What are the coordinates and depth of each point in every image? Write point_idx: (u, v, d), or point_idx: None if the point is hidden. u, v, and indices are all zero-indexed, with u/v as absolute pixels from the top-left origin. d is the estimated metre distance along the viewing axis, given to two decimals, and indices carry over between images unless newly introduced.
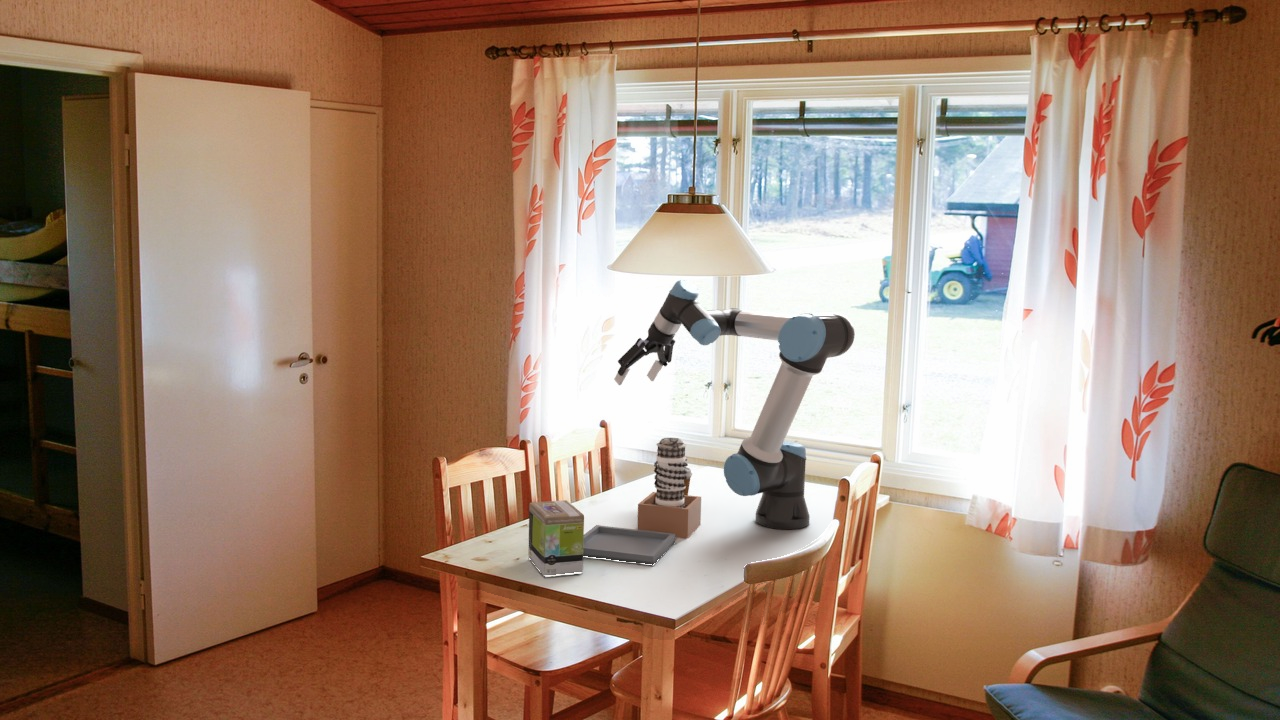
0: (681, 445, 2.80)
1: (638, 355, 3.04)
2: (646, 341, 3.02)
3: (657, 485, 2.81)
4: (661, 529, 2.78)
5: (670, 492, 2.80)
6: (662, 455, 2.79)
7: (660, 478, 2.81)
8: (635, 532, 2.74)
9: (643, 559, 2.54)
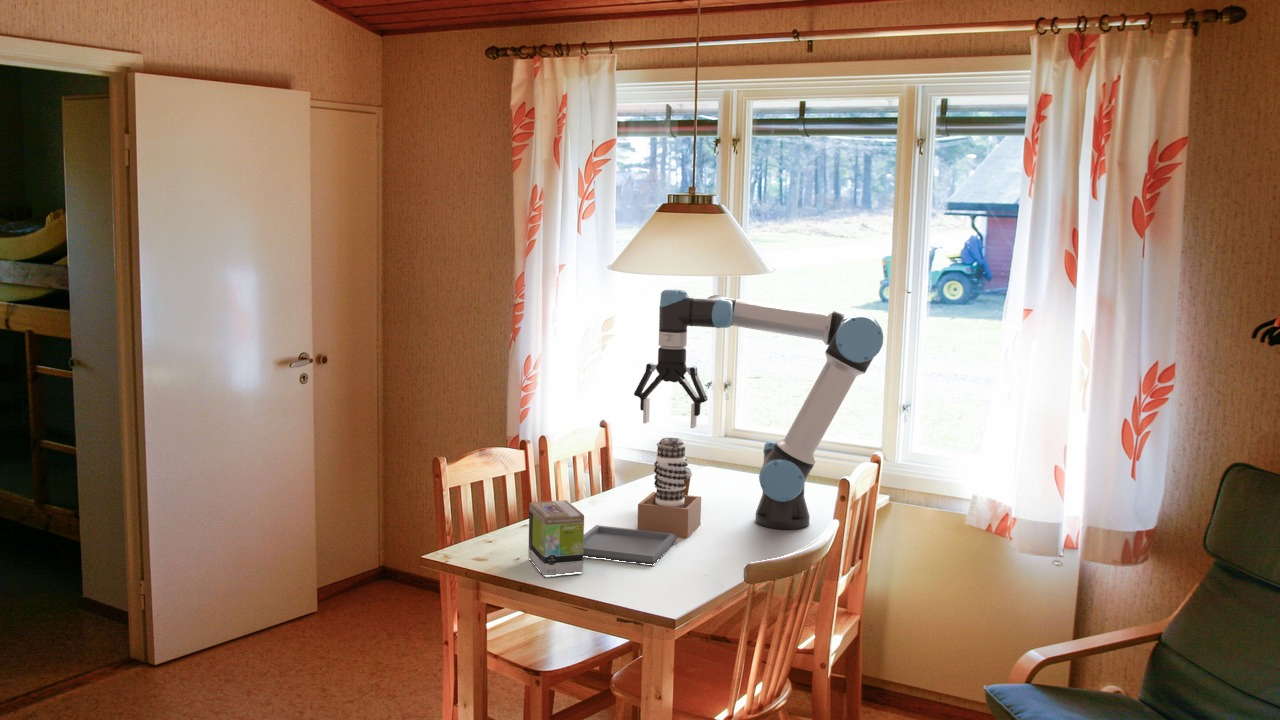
0: (681, 445, 2.80)
1: (689, 385, 2.80)
2: (687, 367, 2.79)
3: (657, 485, 2.81)
4: (661, 529, 2.78)
5: (670, 492, 2.80)
6: (662, 455, 2.79)
7: (660, 478, 2.81)
8: (635, 532, 2.74)
9: (643, 559, 2.54)
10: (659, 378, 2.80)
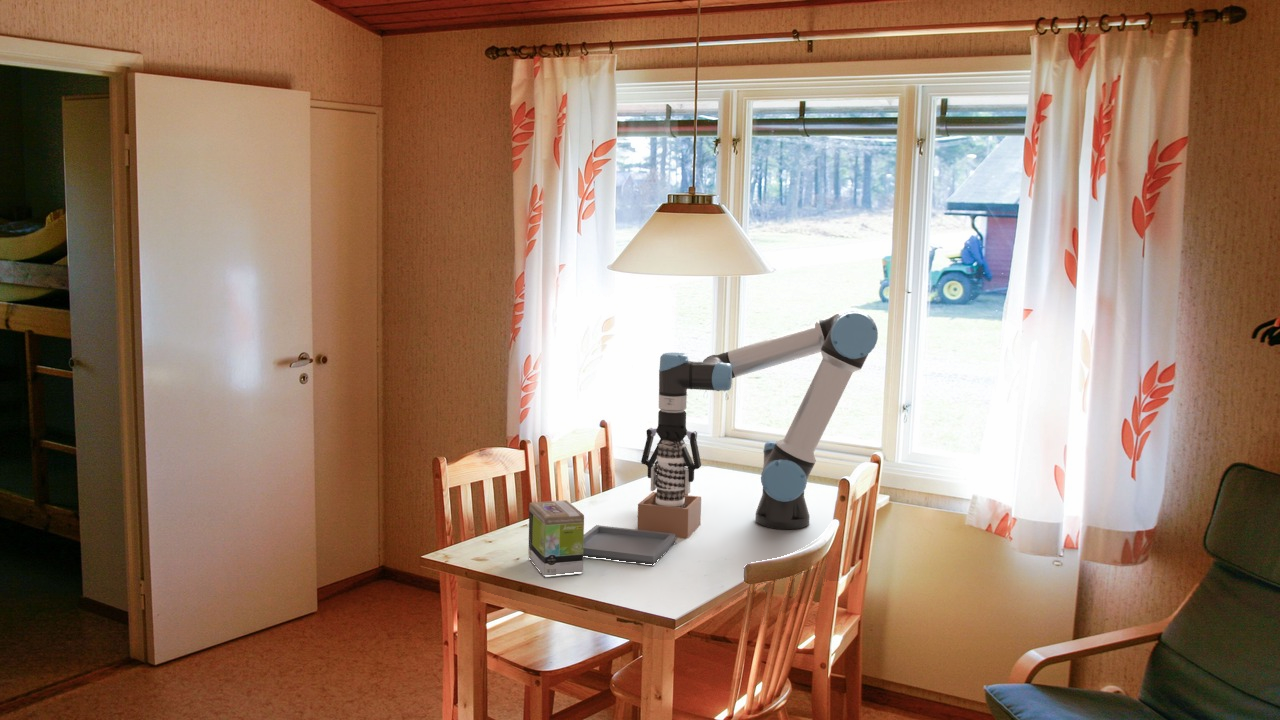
0: None
1: (686, 450, 2.81)
2: (687, 431, 2.80)
3: (657, 485, 2.81)
4: (661, 529, 2.78)
5: (670, 492, 2.80)
6: (662, 455, 2.79)
7: (660, 478, 2.81)
8: (635, 532, 2.74)
9: (643, 559, 2.54)
10: None
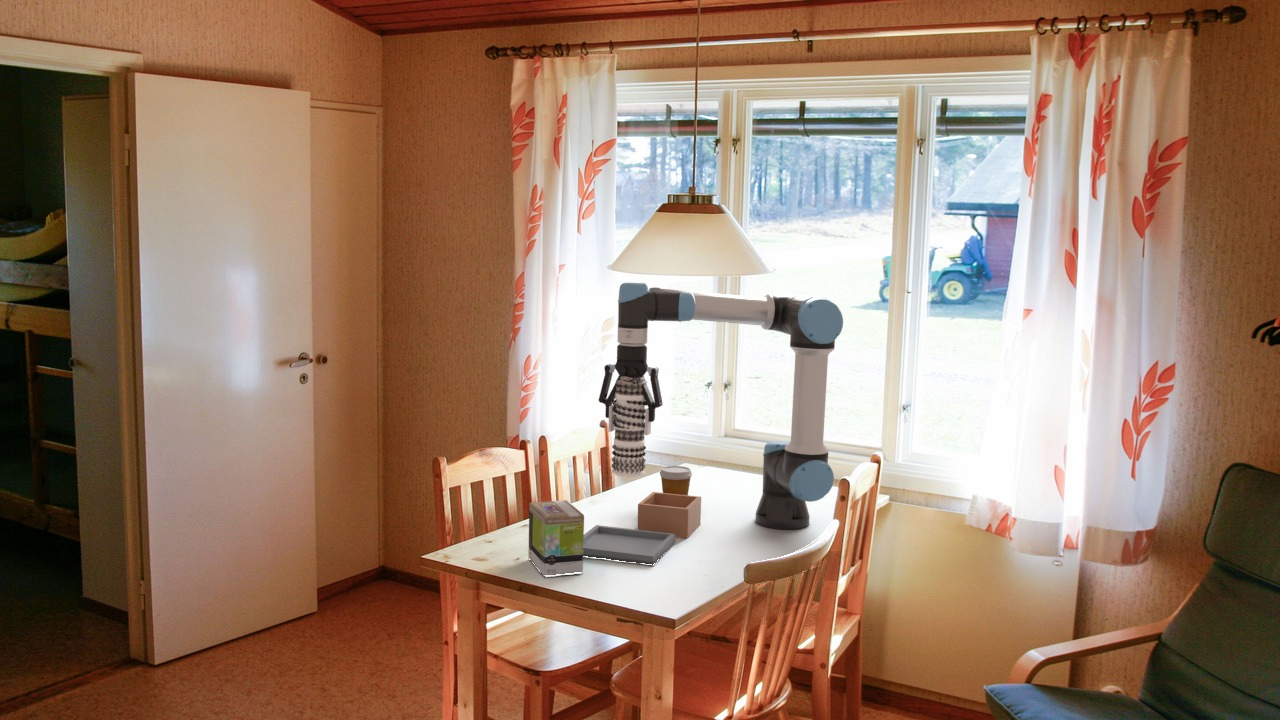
0: None
1: (647, 388, 2.62)
2: (648, 367, 2.61)
3: (615, 424, 2.62)
4: (661, 529, 2.78)
5: (629, 432, 2.60)
6: (621, 392, 2.60)
7: (618, 417, 2.61)
8: (635, 532, 2.74)
9: (643, 559, 2.54)
10: None
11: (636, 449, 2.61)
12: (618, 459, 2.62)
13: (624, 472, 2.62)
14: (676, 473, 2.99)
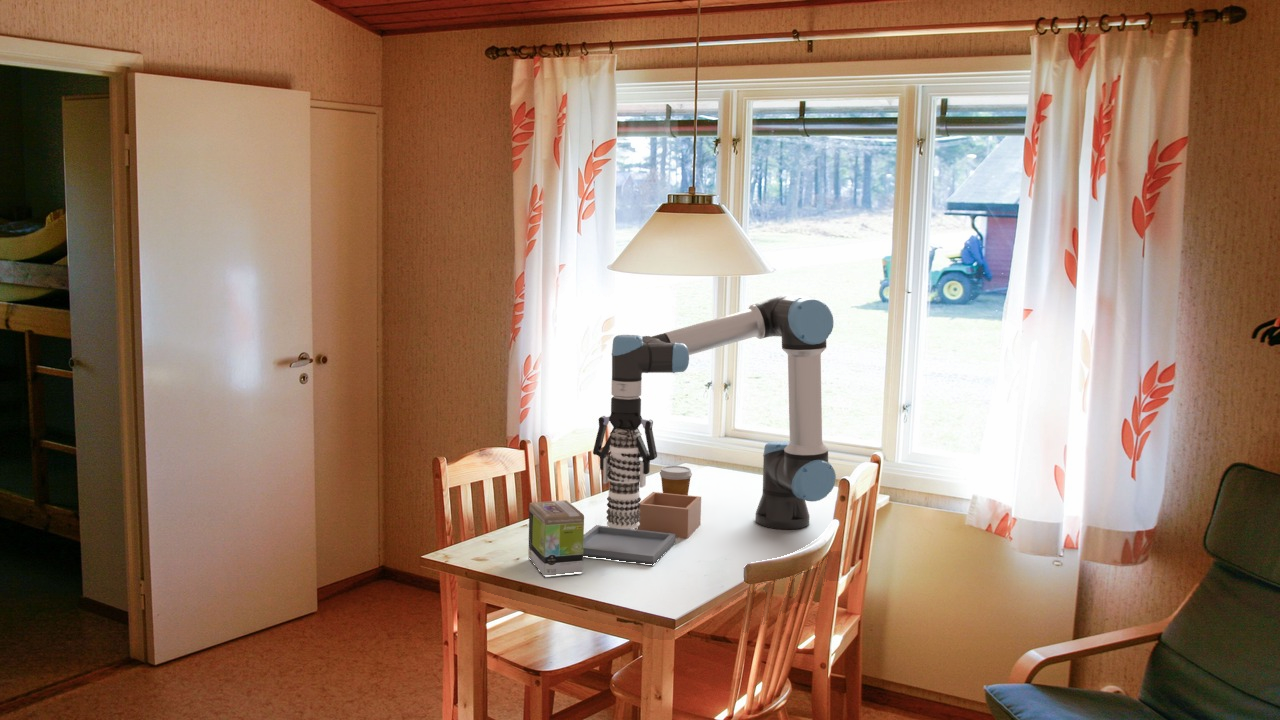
0: None
1: (641, 440, 2.61)
2: (642, 419, 2.60)
3: (610, 477, 2.61)
4: (661, 529, 2.78)
5: (624, 484, 2.60)
6: (615, 445, 2.60)
7: (613, 469, 2.61)
8: (635, 532, 2.74)
9: (643, 559, 2.54)
10: None
11: (631, 501, 2.61)
12: (613, 511, 2.62)
13: (619, 525, 2.61)
14: (676, 473, 2.99)
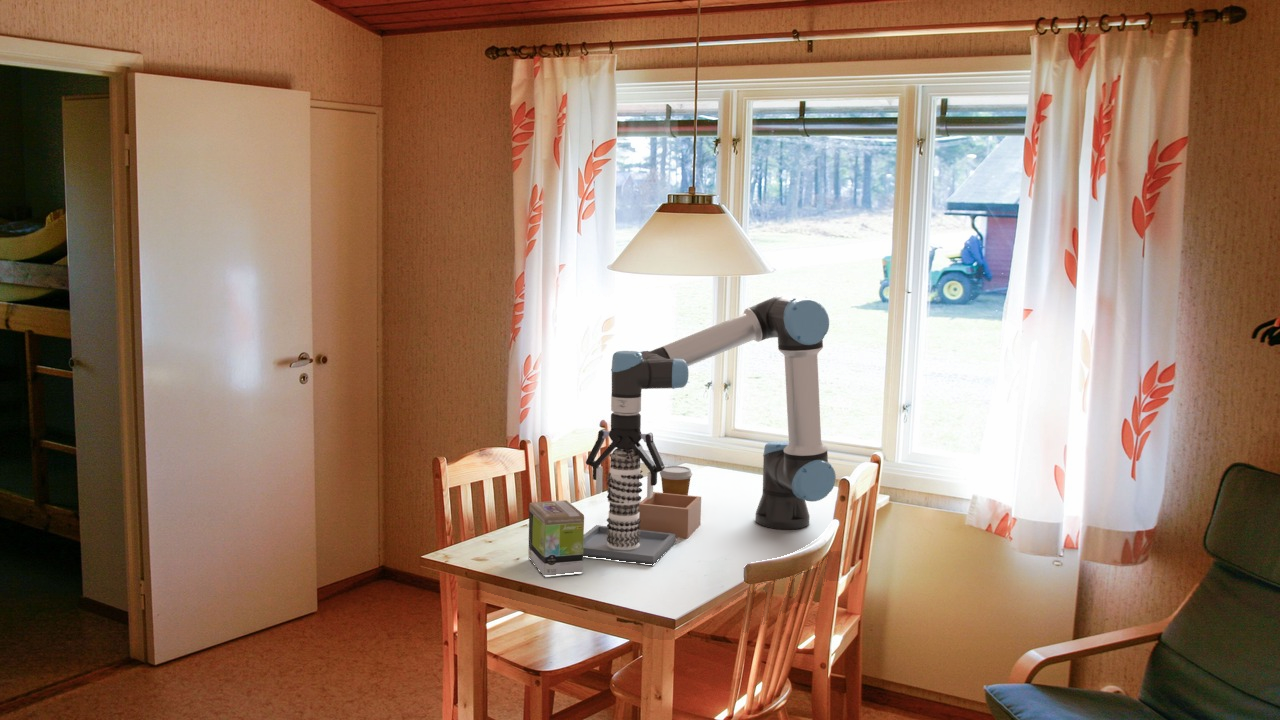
0: (635, 456, 2.61)
1: (645, 453, 2.62)
2: (642, 434, 2.61)
3: (610, 499, 2.62)
4: (661, 529, 2.78)
5: (624, 506, 2.61)
6: (615, 466, 2.60)
7: (613, 491, 2.62)
8: None
9: (643, 559, 2.54)
10: (612, 446, 2.61)
11: (631, 523, 2.61)
12: (613, 533, 2.62)
13: (619, 546, 2.62)
14: (676, 473, 2.99)
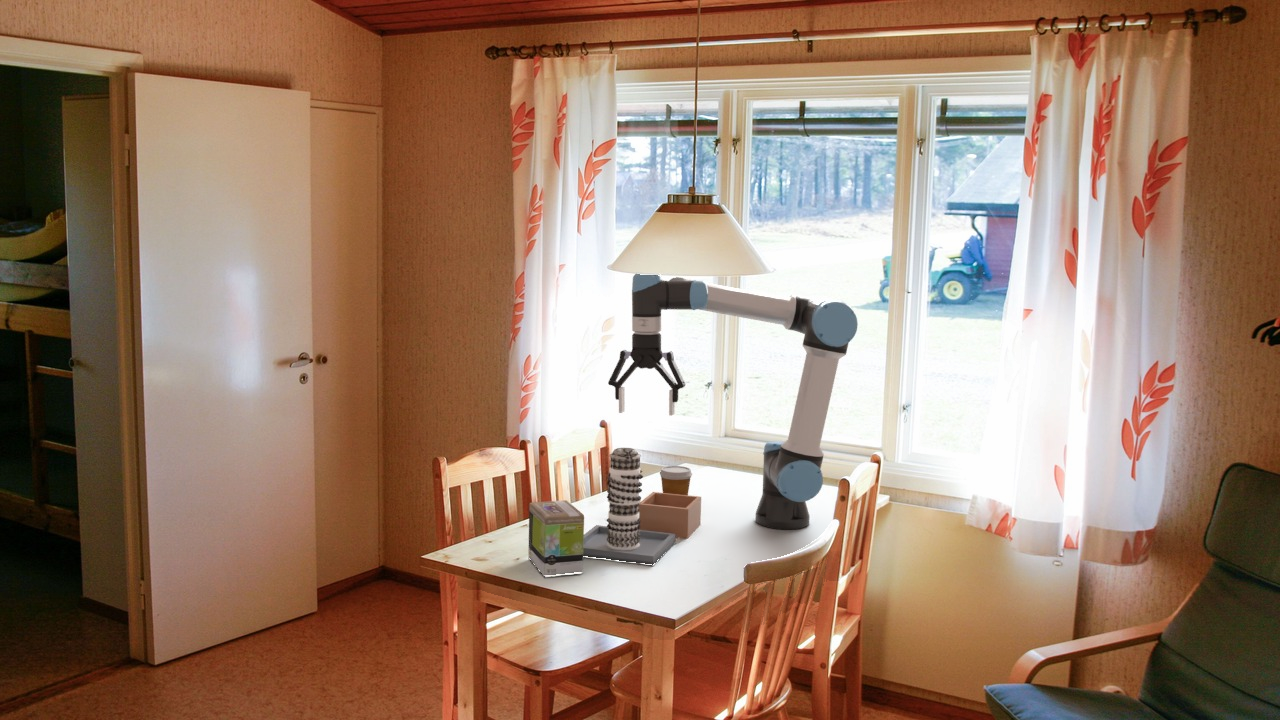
0: (635, 456, 2.61)
1: (666, 371, 2.70)
2: (663, 353, 2.69)
3: (610, 499, 2.62)
4: (661, 529, 2.78)
5: (623, 506, 2.61)
6: (615, 467, 2.60)
7: (613, 491, 2.62)
8: None
9: (643, 559, 2.54)
10: (634, 365, 2.70)
11: (631, 523, 2.61)
12: (613, 533, 2.62)
13: (619, 546, 2.62)
14: (676, 473, 2.99)
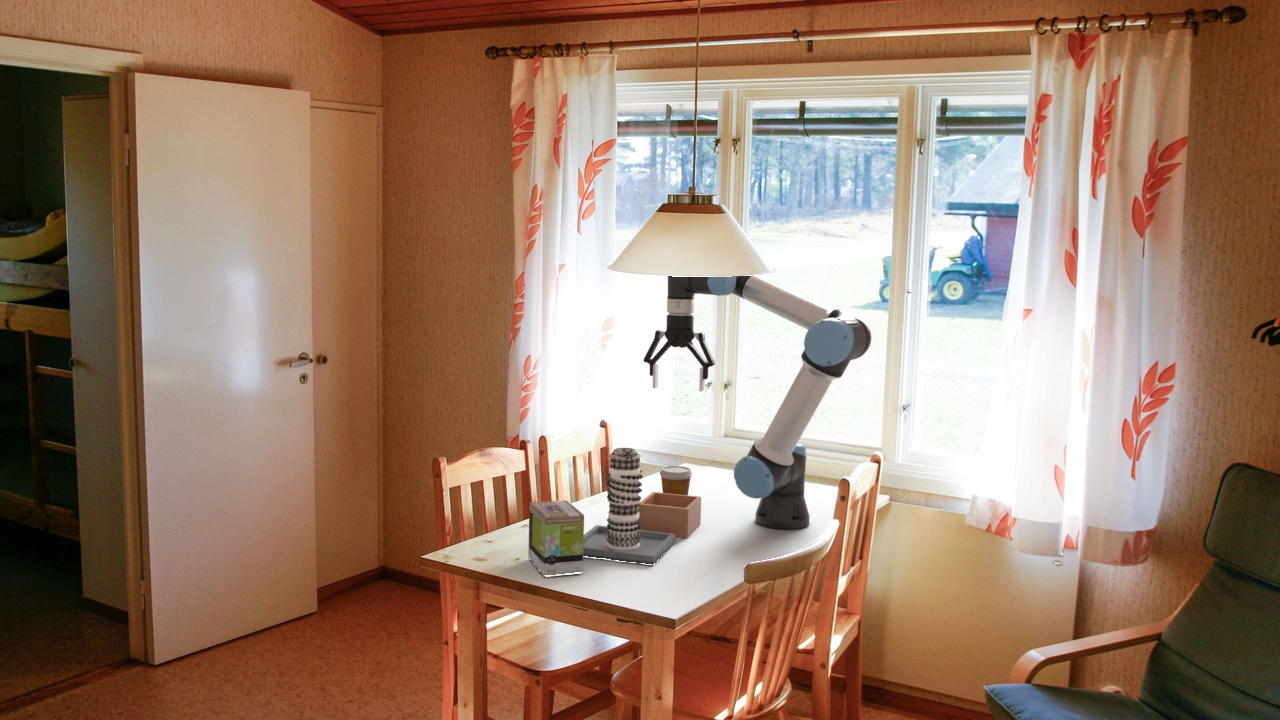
0: (635, 456, 2.61)
1: (697, 350, 2.91)
2: (695, 333, 2.90)
3: (610, 499, 2.62)
4: (661, 529, 2.78)
5: (623, 506, 2.61)
6: (615, 467, 2.60)
7: (613, 491, 2.62)
8: None
9: (643, 559, 2.54)
10: (668, 344, 2.91)
11: (631, 523, 2.61)
12: (613, 533, 2.62)
13: (619, 546, 2.62)
14: (676, 473, 2.99)
